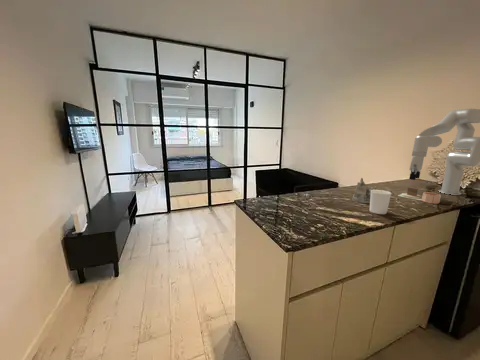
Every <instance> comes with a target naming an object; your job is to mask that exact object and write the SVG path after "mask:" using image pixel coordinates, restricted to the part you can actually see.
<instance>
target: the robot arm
mask: <svg viewBox="0 0 480 360" xmlns="http://www.w3.org/2000/svg"><path fill="white" fill-rule="evenodd" d="M473 124H480V108H462V109H460V108H459V109H453V110H450V111H449V112H448V113H447V114H445V116H444V117H443V118H442V119H441V120H440V121H439V122H438V123H437V124H434V125H432V126H430V127H427V128H425V129H424V130H422V131H421V132H419V134H418V135H416V136H415V138H414V142H413V147H412V153H411V157H412V158H411V162H410V165H409V171H410V172H409V173H410V174H409V179H408V180H410V181H411V180H412V181H415V180H416V179H420V176H421V170H422V168H423V164H424V161H425V160H424V158H426V157H427V154H428V148H437V147H439V146H441V144H442V143H443V139H442V137H440V136H438V135H442V134H443V135H444V134H445V133H448V132H450V131H452V129H454V127H456V128H457V132H456V135H455V137H454V142H453V146H452V147H453V148H454V149H455V150H458V151H450V152H449V153H447V155H446V158H445V160H446V161H445V163H446V164H445V165H446V166H445V171H444V175H443V181H442V184H441V188H440V189H438V191H439V192H438V193H440V192H441V194H444V193H445V194H444V195H449V194H451V195H452V196H462V194H463V193H462V192H460V188H461V184H462V179H463V175H464V168H463V167H462V166H466V167H477V166H478V165H479V164H480V136H474V135H475V131H476V129H475V127H474V125H473ZM459 150H460V151H459Z"/></svg>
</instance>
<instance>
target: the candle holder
mask: <svg viewBox="0 0 480 360" xmlns="http://www.w3.org/2000/svg"><path fill="white" fill-rule="evenodd" d="M391 196H392V192H391V191H388V190H385V189H384V190H383V189H376V190H371V194H370V203H369V210H368V211H369V212H370V213H373V214H376V215H386V214H387V213H388V209H389V204H390V200H391Z"/></svg>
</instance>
